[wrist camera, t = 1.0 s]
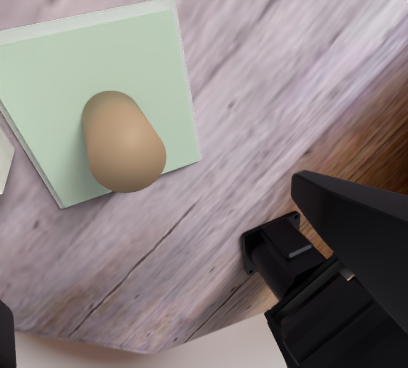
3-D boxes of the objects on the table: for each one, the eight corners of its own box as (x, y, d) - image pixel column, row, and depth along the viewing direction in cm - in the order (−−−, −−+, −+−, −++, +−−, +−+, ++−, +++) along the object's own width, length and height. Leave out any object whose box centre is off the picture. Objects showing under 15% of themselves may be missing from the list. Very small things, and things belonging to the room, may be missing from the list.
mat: (200, 157, 21) (202, 159, 21) (60, 205, 19) (60, 209, 18) (172, -4, 15) (174, -4, 14) (-41, 38, 12) (-44, 39, 12)
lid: (194, 155, 20) (232, 202, 16) (65, 200, 18) (67, 268, 14) (167, 9, 15) (213, 17, 10) (-23, 49, 13) (-69, 81, 8)
